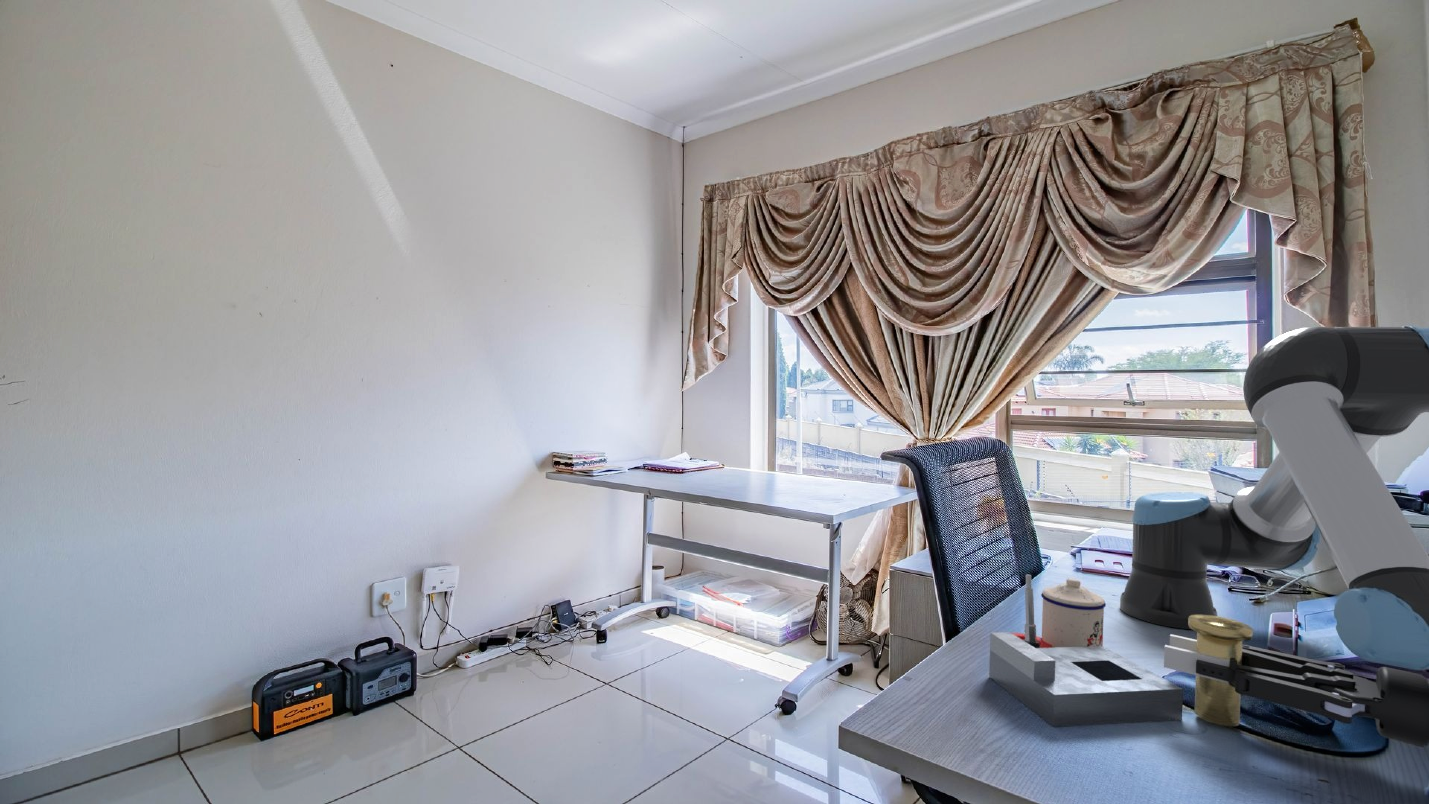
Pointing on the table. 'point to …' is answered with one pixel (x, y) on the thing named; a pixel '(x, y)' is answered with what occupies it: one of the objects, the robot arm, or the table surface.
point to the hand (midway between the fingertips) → (1167, 650)
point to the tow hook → (1031, 620)
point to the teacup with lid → (1072, 616)
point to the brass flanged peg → (1224, 642)
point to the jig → (1081, 684)
